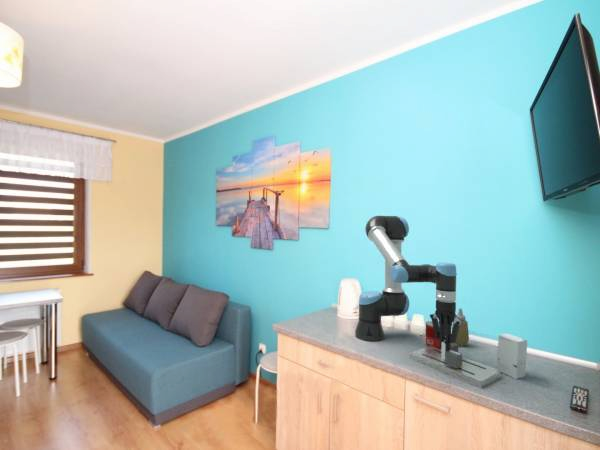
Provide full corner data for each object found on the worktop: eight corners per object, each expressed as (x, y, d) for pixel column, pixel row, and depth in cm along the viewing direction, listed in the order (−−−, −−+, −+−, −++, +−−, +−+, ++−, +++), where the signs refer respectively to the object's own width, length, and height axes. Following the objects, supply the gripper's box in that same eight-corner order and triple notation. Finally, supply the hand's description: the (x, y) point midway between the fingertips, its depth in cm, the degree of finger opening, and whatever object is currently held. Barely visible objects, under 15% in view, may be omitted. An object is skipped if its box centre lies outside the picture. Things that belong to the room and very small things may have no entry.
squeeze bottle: (452, 346, 151) (453, 309, 151) (449, 340, 159) (450, 306, 159) (470, 348, 149) (471, 311, 149) (467, 342, 157) (467, 307, 157)
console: (409, 358, 135) (409, 340, 135) (430, 351, 144) (430, 334, 144) (481, 388, 111) (481, 366, 111) (500, 377, 120) (501, 357, 120)
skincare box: (496, 370, 126) (496, 334, 126) (505, 368, 128) (506, 332, 128) (517, 379, 118) (518, 341, 118) (527, 377, 120) (527, 339, 120)
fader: (446, 364, 123) (446, 351, 123) (452, 362, 125) (452, 349, 125) (456, 368, 119) (457, 354, 120) (462, 366, 122) (462, 352, 122)
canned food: (444, 349, 147) (445, 326, 147) (427, 347, 148) (427, 325, 149) (440, 343, 154) (441, 321, 155) (424, 342, 156) (424, 320, 156)
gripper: (426, 298, 129) (425, 354, 129) (456, 304, 118) (455, 366, 118) (436, 296, 133) (435, 350, 133) (466, 302, 123) (465, 361, 122)
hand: (444, 357), depth 125 cm, fingers closed
